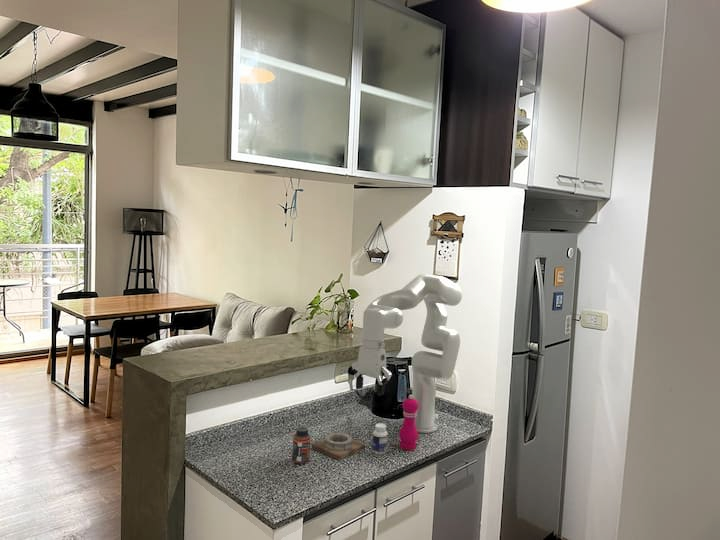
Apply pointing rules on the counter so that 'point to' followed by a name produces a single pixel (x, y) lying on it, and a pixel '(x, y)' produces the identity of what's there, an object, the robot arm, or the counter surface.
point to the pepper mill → (409, 424)
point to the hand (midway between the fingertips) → (369, 391)
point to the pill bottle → (379, 439)
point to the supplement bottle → (301, 446)
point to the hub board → (338, 452)
